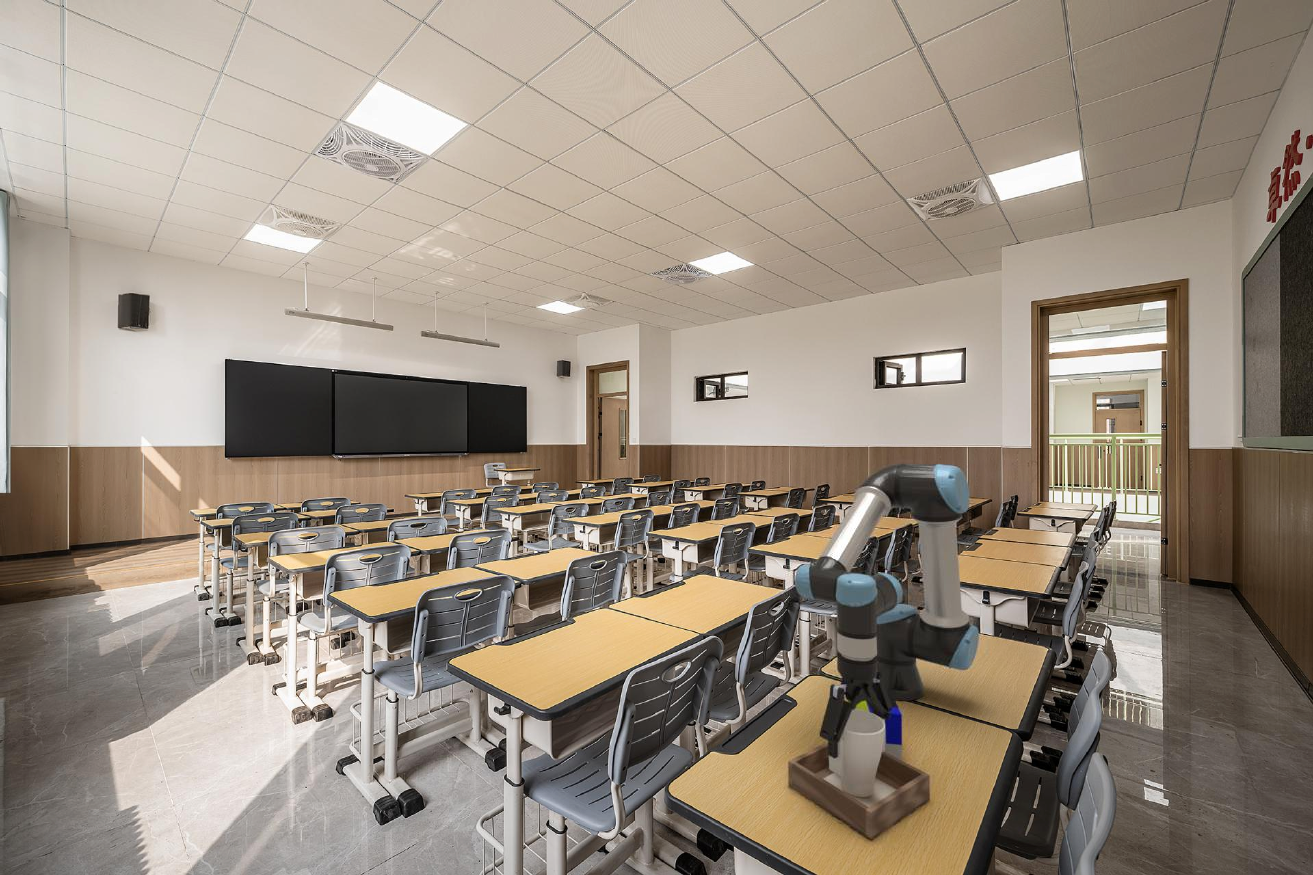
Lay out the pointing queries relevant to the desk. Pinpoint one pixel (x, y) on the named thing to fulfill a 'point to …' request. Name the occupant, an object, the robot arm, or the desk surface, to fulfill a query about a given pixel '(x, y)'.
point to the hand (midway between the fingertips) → (857, 760)
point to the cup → (861, 752)
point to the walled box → (869, 816)
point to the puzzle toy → (890, 728)
